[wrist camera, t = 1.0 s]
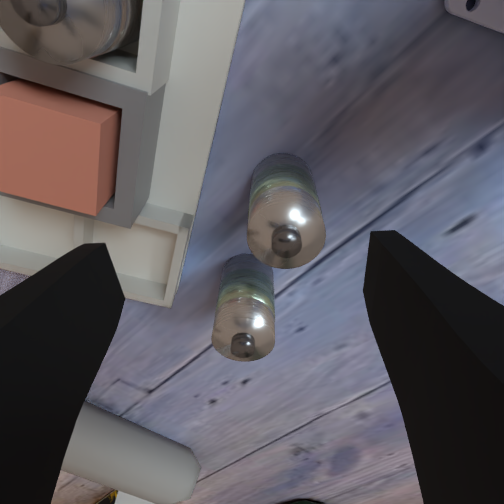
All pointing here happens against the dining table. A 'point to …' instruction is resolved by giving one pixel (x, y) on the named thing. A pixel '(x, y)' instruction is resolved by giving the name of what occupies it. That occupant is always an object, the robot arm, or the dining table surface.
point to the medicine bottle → (122, 499)
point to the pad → (58, 146)
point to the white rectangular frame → (135, 145)
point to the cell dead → (70, 27)
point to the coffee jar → (305, 502)
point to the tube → (130, 458)
